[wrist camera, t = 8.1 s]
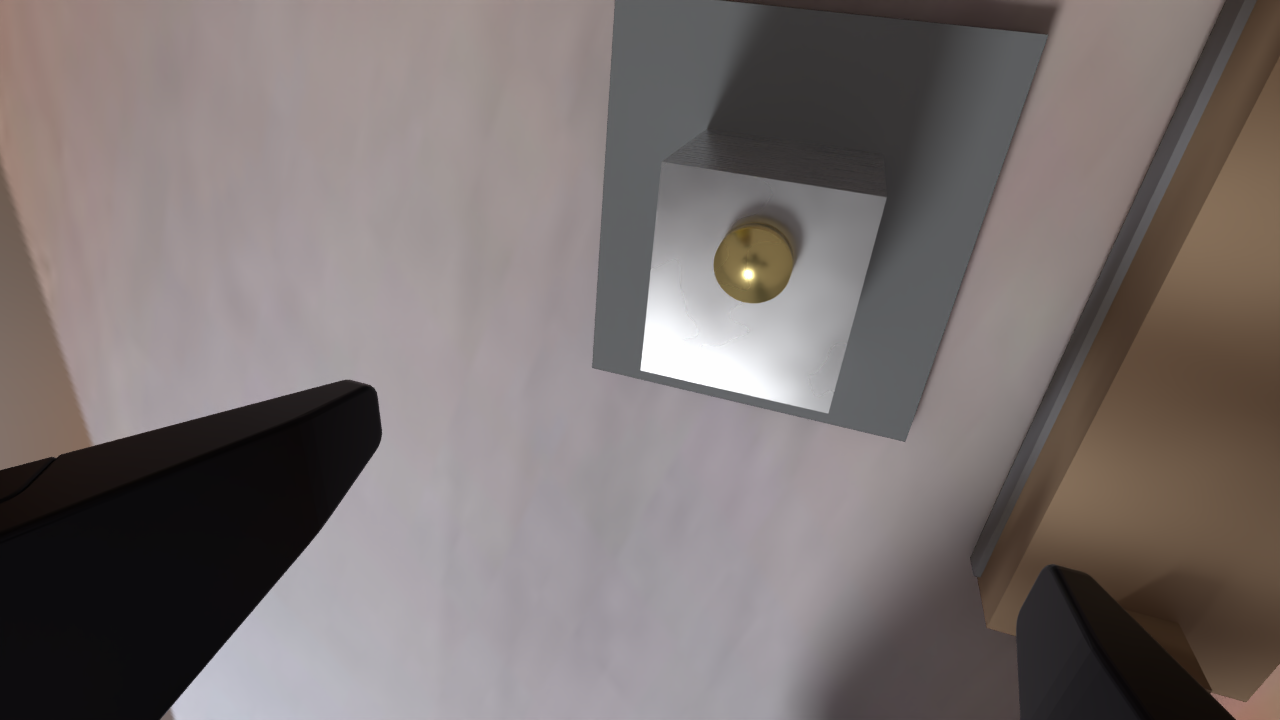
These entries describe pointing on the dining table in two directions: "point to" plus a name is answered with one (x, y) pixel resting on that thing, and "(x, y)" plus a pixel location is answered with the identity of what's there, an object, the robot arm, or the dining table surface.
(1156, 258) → the plane body
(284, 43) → the dining table surface
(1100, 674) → the robot arm
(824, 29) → the mat
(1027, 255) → the dining table surface
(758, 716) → the dining table surface
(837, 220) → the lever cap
